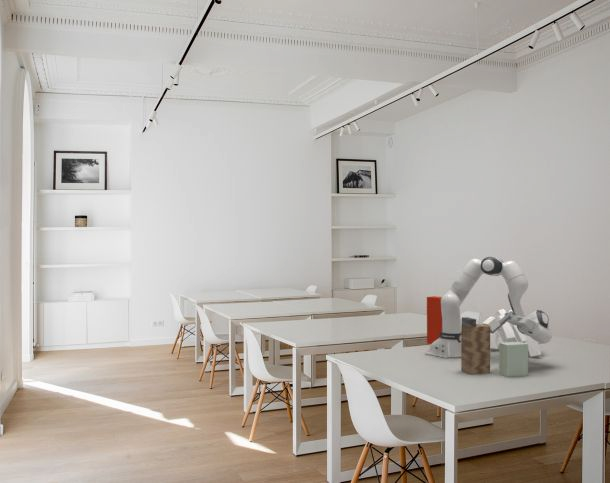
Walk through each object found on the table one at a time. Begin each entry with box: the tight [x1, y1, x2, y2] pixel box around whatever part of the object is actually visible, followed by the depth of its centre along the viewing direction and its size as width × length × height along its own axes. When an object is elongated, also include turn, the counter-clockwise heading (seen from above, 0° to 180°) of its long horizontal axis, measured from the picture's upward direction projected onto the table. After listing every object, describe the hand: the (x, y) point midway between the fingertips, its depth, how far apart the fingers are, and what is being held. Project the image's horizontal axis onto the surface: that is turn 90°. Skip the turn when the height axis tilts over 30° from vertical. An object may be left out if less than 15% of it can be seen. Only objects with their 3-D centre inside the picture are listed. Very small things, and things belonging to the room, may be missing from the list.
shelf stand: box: [460, 316, 491, 375], centre depth 313 cm, size 12×9×29 cm
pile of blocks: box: [490, 308, 542, 358], centre depth 367 cm, size 35×30×35 cm
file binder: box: [426, 295, 442, 345], centre depth 393 cm, size 8×17×32 cm, turn 36°
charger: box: [482, 311, 515, 334], centre depth 317 cm, size 17×5×7 cm
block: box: [498, 341, 529, 378], centre depth 306 cm, size 12×7×16 cm, turn 106°
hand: (507, 314), depth 318 cm, fingers closed on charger, 3 cm apart
